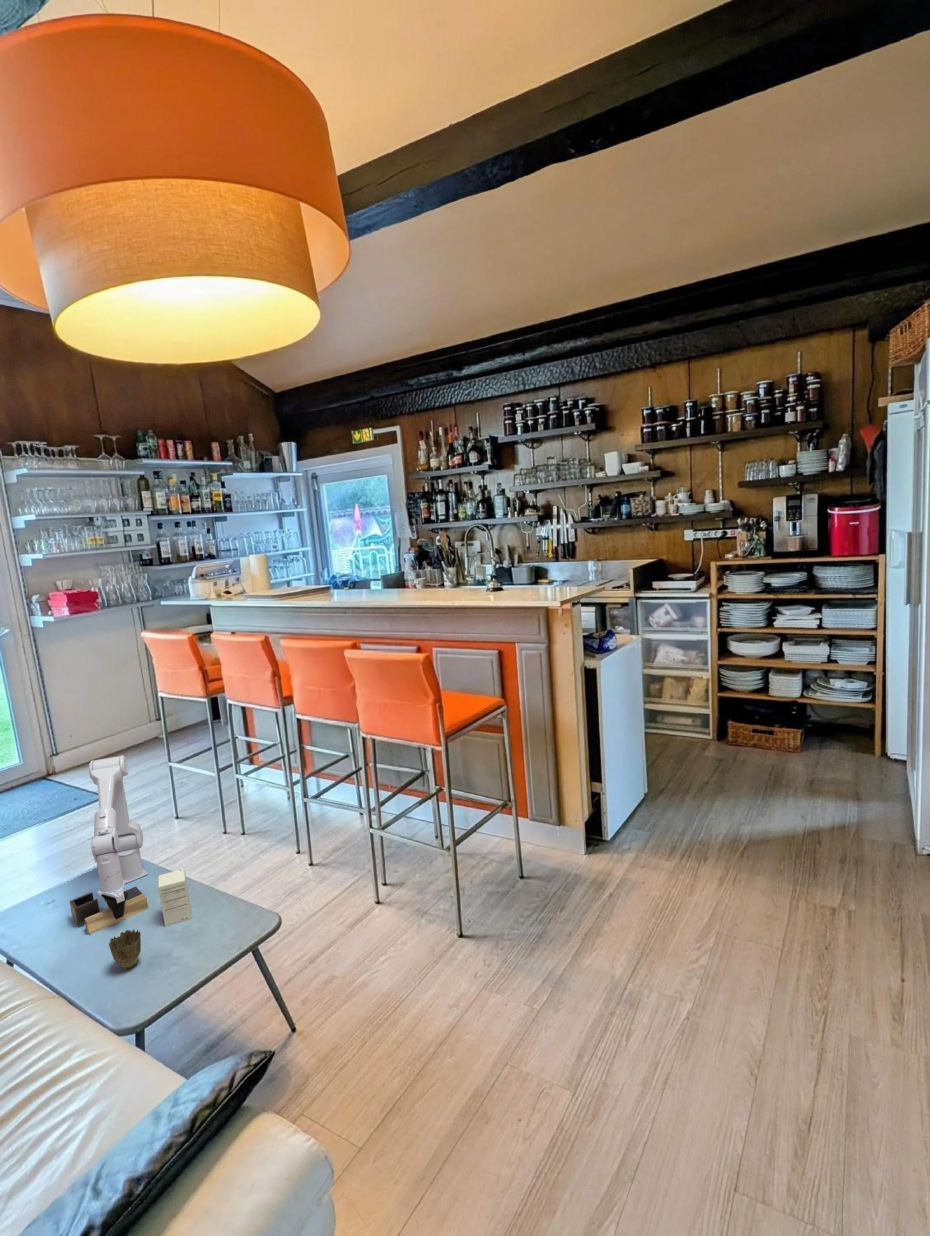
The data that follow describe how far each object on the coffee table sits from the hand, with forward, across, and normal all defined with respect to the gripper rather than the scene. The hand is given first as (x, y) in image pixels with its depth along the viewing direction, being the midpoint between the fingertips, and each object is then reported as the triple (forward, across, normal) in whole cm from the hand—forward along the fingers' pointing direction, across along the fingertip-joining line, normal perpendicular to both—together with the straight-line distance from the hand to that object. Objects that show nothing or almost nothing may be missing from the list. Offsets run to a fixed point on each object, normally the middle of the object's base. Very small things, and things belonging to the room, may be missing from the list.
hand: (117, 914), depth 191 cm
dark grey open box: (+1, -8, -6) cm, 10 cm away
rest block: (+1, -8, +7) cm, 10 cm away
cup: (+2, +25, -4) cm, 25 cm away
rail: (+2, 0, 0) cm, 2 cm away
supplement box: (+2, +13, +13) cm, 18 cm away
